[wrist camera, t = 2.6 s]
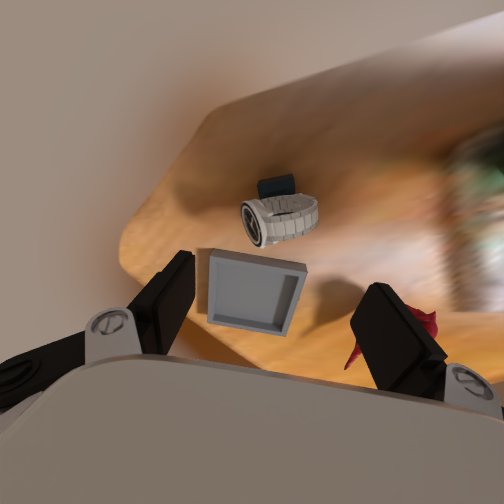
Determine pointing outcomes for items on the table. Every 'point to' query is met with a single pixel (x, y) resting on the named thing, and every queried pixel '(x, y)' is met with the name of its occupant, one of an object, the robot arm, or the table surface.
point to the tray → (253, 291)
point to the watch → (278, 212)
